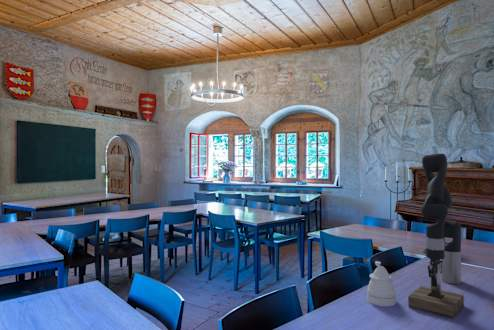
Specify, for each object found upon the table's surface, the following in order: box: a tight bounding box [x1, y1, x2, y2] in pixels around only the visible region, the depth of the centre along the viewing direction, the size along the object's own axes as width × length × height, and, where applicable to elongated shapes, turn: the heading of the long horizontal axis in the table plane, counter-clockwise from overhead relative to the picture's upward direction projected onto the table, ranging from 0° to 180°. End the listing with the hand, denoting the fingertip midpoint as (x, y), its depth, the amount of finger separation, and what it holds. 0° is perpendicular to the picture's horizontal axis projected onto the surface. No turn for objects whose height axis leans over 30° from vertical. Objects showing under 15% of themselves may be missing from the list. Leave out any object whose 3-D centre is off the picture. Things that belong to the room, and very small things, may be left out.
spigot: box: [429, 269, 442, 295], centre depth 157 cm, size 4×4×11 cm
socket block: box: [407, 285, 465, 320], centre depth 156 cm, size 18×18×5 cm
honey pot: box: [366, 261, 397, 307], centre depth 164 cm, size 13×13×18 cm
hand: (435, 284), depth 157 cm, fingers closed on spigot, 4 cm apart
